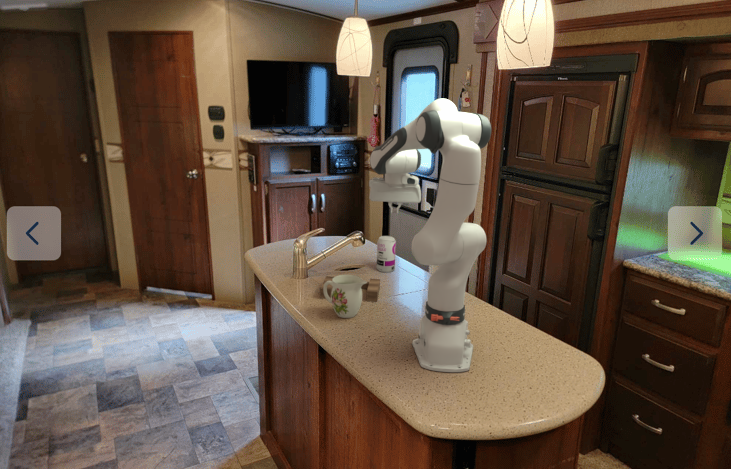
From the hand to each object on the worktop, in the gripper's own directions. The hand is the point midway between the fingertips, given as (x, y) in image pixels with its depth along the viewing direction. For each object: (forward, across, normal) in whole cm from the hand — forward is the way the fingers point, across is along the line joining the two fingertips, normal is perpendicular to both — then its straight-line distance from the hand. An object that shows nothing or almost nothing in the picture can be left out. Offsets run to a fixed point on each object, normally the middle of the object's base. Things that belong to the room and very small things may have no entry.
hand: (394, 212), depth 191 cm
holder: (+31, -16, -9) cm, 36 cm away
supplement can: (+32, -4, +21) cm, 38 cm away
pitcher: (+31, -16, -28) cm, 45 cm away
